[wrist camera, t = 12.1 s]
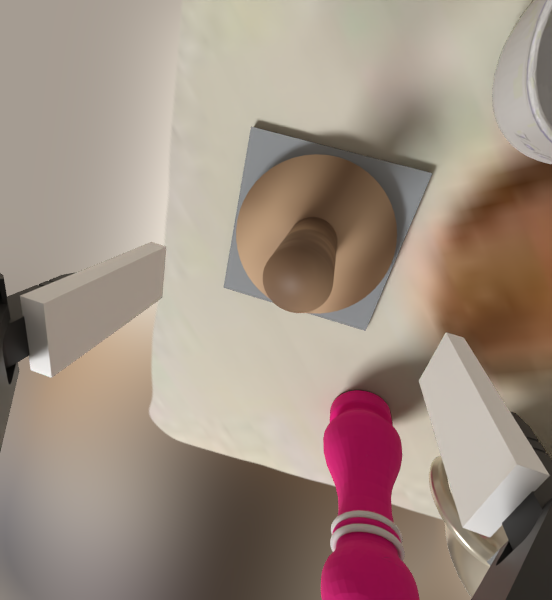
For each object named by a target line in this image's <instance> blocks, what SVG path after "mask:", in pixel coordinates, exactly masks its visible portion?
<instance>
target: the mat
mask: <svg viewBox="0 0 552 600" xmlns="http://www.w3.org/2000/svg"><path fill="white" fill-rule="evenodd" d="M314 154H318V155H330V156H335V157H340V158H342V159H345V160H348V161H350V162H352V163H354V164H356V165H358V166H360V167H361V168H362V169H364V170H365V171H366V172H368V173H369V174H370V175H371V176H372V177H373V178H374V179H375V180H376V181H377V182H378V183H379V184H380V186H381V187H382V188H383V190H384V191H385V193H386V195H387V197H388V198H389V200H390V202H391V205H392V208H393V211H394V214H395V219H396V225H397V242H396V249H395V253H394V257H393V260H392V263H391V265H390V267H389V269H388V271H387V273H386V275H385V276H384V278H383V279H382V281H381V282H380V283H379V285H378V286H377V287H376V288H375V289H374V290H373V291H372V292H371V293H370V294H368V295H367V296H366V297H365V298H363V299H362V300H360V301H359V302H357V303H355V304H353V305H351V306H349V307H347V308H344V309H341V310H339V311H334V312H330V313H320V314H318V313H309V314H312V315H315V316H318V317H322V318H325V319H328V320H332V321H335V322H338V323H341V324H345V325H348V326H351V327H355V328H358V329H361V330H364V331H366V328H367V326H368V324H369V321H370V319H371V317H372V314H373V312H374V309H375V307H376V305H377V302H378V300H379V298H380V295H381V293H382V291H383V288H384V286H385V284H386V281H387V279H388V276H389V274H390V272H391V269H392V267H393V265H394V262H395V260H396V258H397V255H398V253H399V251H400V248H401V246H402V243H403V241H404V239H405V236H406V234H407V232H408V229H409V227H410V225H411V222H412V220H413V218H414V215H415V213H416V210H417V208H418V206H419V203H420V201H421V199H422V196H423V194H424V192H425V189H426V187H427V185H428V182H429V180H430V177H431V175H432V173H429V172H426V171H422V170H418V169H414V168H410V167H406V166H402V165H398V164H394V163H391V162H387V161H383V160H379V159H375V158H371V157H367V156H363V155H360V154H356V153H352V152H348V151H344V150H340V149H336V148H332V147H329V146H325V145H321V144H317V143H313V142H309V141H305V140H301V139H298V138H294V137H290V136H286V135H282V134H278V133H274V132H270V131H266V130H263V129H259V128H255V127H251V131H250V137H249V142H248V148H247V154H246V160H245V166H244V172H243V177H242V183H241V189H240V195H239V201H238V207H237V213H236V218H235V224H234V230H233V236H232V242H231V248H230V253H229V259H228V265H227V271H226V277H225V283H224V288H227V289H230V290H233V291H236V292H240V293H243V294H246V295H250V296H253V297H256V298H259V299H263V300H266V301H269V302H272V300H271V299H269V298H268V297H267V296H265V295H264V294H263V293H262V292H261V291H260V290H259V289H258V288H257V287H256V286H255V285H254V284H253V282H252V281H251V279H250V278H249V277H248V275H247V273H246V271H245V269H244V268H243V265H242V263H241V260H240V257H239V253H238V249H237V242H236V227H237V219H238V215H239V211H240V208H241V206H242V203H243V201H244V199H245V197H246V195H247V194H248V192H249V190H250V189H251V188H252V186H253V185H254V184H255V182H256V181H257V180H258V179H259V178H260V177H261V176H262V175H263V174H265V173H266V172H267V171H268V170H270V169H271V168H273V167H274V166H276V165H278V164H280V163H281V162H284V161H286V160H289V159H291V158H295V157H299V156H303V155H314Z"/></svg>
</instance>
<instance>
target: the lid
mask: <svg viewBox="0 0 552 600" xmlns="http://www.w3.org/2000/svg"><path fill="white" fill-rule="evenodd" d="M236 242H237V249H238V253H239V257H240V260H241V263H242V265H243V268H244V269H245V271H246V273H247V275H248V277H249V278H250V279H251V281H252V282H253V284H254V285H255V286H256V287H257V288H258V289H259V290H260V291H261V292H262V293H263V294H264V295H265V296H267V297H268V298H269V299H271V300H272V302H273V303H275V304H276V305H277V306H278V307H280V308H282V309H284V310H286V311H289V312H294V313H318V314H320V313H330V312H334V311H339V310H341V309H344V308H347V307H349V306H351V305H353V304H355V303H357V302H359V301H360V300H362V299H363V298H365V297H366V296H367V295H368V294H370V293H371V292H372V291H373V290H374V289H375V288H376V287H377V286H378V285H379V283H380V282H381V281H382V279H383V278H384V276H385V275H386V273H387V271H388V269H389V267H390V265H391V263H392V260H393V257H394V253H395V249H396V242H397V225H396V219H395V214H394V211H393V208H392V205H391V202H390V200H389V198H388V197H387V195H386V193H385V191H384V190H383V188H382V187H381V186H380V184H379V183H378V182H377V181H376V180H375V179H374V178H373V177H372V176H371V175H370V174H369V173H368V172H366V171H365V170H364V169H362V168H361V167H360V166H358V165H356V164H354V163H352V162H350V161H348V160H345V159H342V158H340V157H335V156H330V155H318V154H314V155H303V156H299V157H295V158H291V159H289V160H286V161H284V162H281V163H280V164H278V165H276V166H274V167H273V168H271V169H270V170H268V171H267V172H266V173H265V174H263V175H262V176H261V177H260V178H259V179H258V180H257V181H256V182H255V184H254V185H253V186H252V188H251V189H250V190H249V192H248V194H247V195H246V197H245V199H244V201H243V203H242V206H241V208H240V211H239V215H238V219H237V227H236Z"/></svg>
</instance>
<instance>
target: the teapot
mask: <svg viewBox="0 0 552 600" xmlns="http://www.w3.org/2000/svg"><path fill="white" fill-rule="evenodd" d="M429 483H430V489H431V493H432V497H433V500H434V502H435V505H436V507H437V509H438V511H439V513H440V515H441V517H442V519H443V521H444V522H445V531H446V539H447V545H448V549H449V552H450V556H451V559H452V562H453V564H454V567H455V569H456V571H457V574H458V576H459V578H460V579H461V582H462V583H463V585H464V587H465V588H466V590H467V592H468V593H469V595H470V596H471V598H472V597H473V595H474V594H475V592H476V590H477V588H478V587H479V585H480V583H481V581H482V580H483V578H484V576H485V575H486V573H487V571H488V569H489V568H490V565H489V564H488V563H487V561H488V560H489V559H490V558H491V557H492V556H493V555H494V554H495V553H496V552H497V551H498V550H499V549H500V548H501V547H502V546H503V545H504V544H505V543H506V542H507V541H508V538H507V535H506V533H505V530H504V528H503V525H502V526H501V527H500V528H499V529H498V530H497V531H496V532H495V533H494V534H493V535H492V536H491V537H487V536H484V535H482V534H479V533H476V532H473V531H471V530H468V529H465V528H462V525H461V521H460V518H459V514H458V511H457V508H456V504H455V501H454V498H453V494H452V493H451V492H450V489H449V485H448V478H447V474H446V471H445V467H444V464H443V461H442V457H441V456H439V457H437V458H435V459H434V460H433V462H432V464H431V467H430V472H429Z"/></svg>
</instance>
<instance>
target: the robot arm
mask: <svg viewBox="0 0 552 600" xmlns="http://www.w3.org/2000/svg"><path fill="white" fill-rule="evenodd" d="M165 255H166V246H163V245H159V244H155V243H153V242H150V243H148V244H145V245H143V246H141V247H138V248H136V249H133V250H131V251H128V252H126V253H123V254H121V255H118V256H116V257H114V258H111V259H109V260H106V261H104V262H101V263H99V264H97V265H94V266H92V267H89V268H87V269H84V270H82V271H79V272H76V273H71V274H65V275H61V276H58V277H56V278H53V279H51V280H49V281H46V282H43V283H41V284H39V286H38V285H36V286H33V287H31V288H28V289H25V290H23V291H21V292H18V293H15V294H13V295H10V296H8V297H7V295H6V289H5V284H4V277H3V275H2V274H0V451H1V447H2V442H3V438H4V434H5V429H6V425H7V421H8V417H9V412H10V408H11V404H12V399H13V395H14V391H15V386H16V382H17V378H18V373H19V367H18V362H19V361H20V360H22V359H24V358H25V357H27V356H29V361H30V368H31V370H32V371H35V372H37V373H41V374H43V375H45V376H48V377H53V376H55V375H56V374H57V373H59V372H60V371H62V370H63V369H64V368H66V367H67V366H68V365H70V364H71V363H73V362H74V361H75V360H77V359H78V358H80V357H81V356H82V355H84V354H85V353H86V352H88V351H89V350H91V349H92V348H93V347H95V346H96V345H97V344H99V343H100V342H102V341H103V340H104V339H106V338H107V337H108V336H110V335H111V334H113V333H114V332H116V331H117V330H118V329H120V328H121V327H122V326H124V325H125V324H126V323H128V322H129V321H131V320H132V319H133V318H135V317H136V316H138V315H139V314H140V313H142V312H143V311H144V310H146V309H147V308H149V307H150V306H151V305H153V304H154V303H156V302H157V301H158V300H160V299H161V298H162V293H163V280H164V268H165ZM419 383H420V387H421V390H422V393H423V397H424V400H425V403H426V407H427V410H428V414H429V417H430V420H431V424H432V427H433V430H434V434H435V437H436V440H437V444H438V447H439V451H440V454H441V457H442V461H443V464H444V467H445V471H446V474H447V477H448V481H449V484H450V488H451V491H452V494H453V498H454V501H455V504H456V508H457V511H458V514H459V518H460V521H461V525H462V528H465V529H468V530H471V531H473V532H476V533H479V534H482V535H484V536H487V537H491V536H492V535H493V534H494V533H495V532H496V531H497V530H498V529H499V528H500V527H501V526H502V525H503V528H504V530H505V533H506V535H507V538H508V541H507V542H506V543H505V544H504V545H503V546H502V547H501V548H500V549H499V550H498V551H497V552H496V553H495V554H494V555H493V556H492V557H491V558H490V559H489V560H488V561H487V563H488V564H489V565H490V568H489V569H488V571H487V573H486V575H485V576H484V578H483V580H482V581H481V583H480V585H479V587H478V588H477V590H476V592H475V594H474V595H473V597H472V599H471V600H552V460H551V459H550V457H549V456H548V454H545V452H546V451H545V449H544V448H543V446H542V445H541V443H539V442H538V439H537V437H536V436H535V434H534V433H533V431H532V430H531V428H530V427H529V426H528V425H527V424H526V423H525V422H524V421H523V420H522V419H521V418H520V417H519V416H518V415H517V414H516V413H513V412H510V411H509V409H508V408H507V406H506V404H505V403H504V401H503V400H502V398H501V396H500V395H499V393H498V392H497V390H496V388H495V387H494V385H493V384H492V382H491V380H490V379H489V377H488V376H487V374H486V372H485V371H484V369H483V368H482V366H481V364H480V363H479V361H478V360H477V358H476V356H475V355H474V353H473V351H472V350H471V348H470V347H469V345H468V343H467V342H466V340H465V339H464V338H463V337H460V336H457V335H454V334H450V333H447V332H446V333H445V335H444V336H443V338H442V340H441V342H440V344H439V345H438V347H437V349H436V351H435V353H434V354H433V356H432V358H431V360H430V362H429V363H428V365H427V367H426V369H425V371H424V372H423V374H422V376H421V378H420V379H419Z"/></svg>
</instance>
